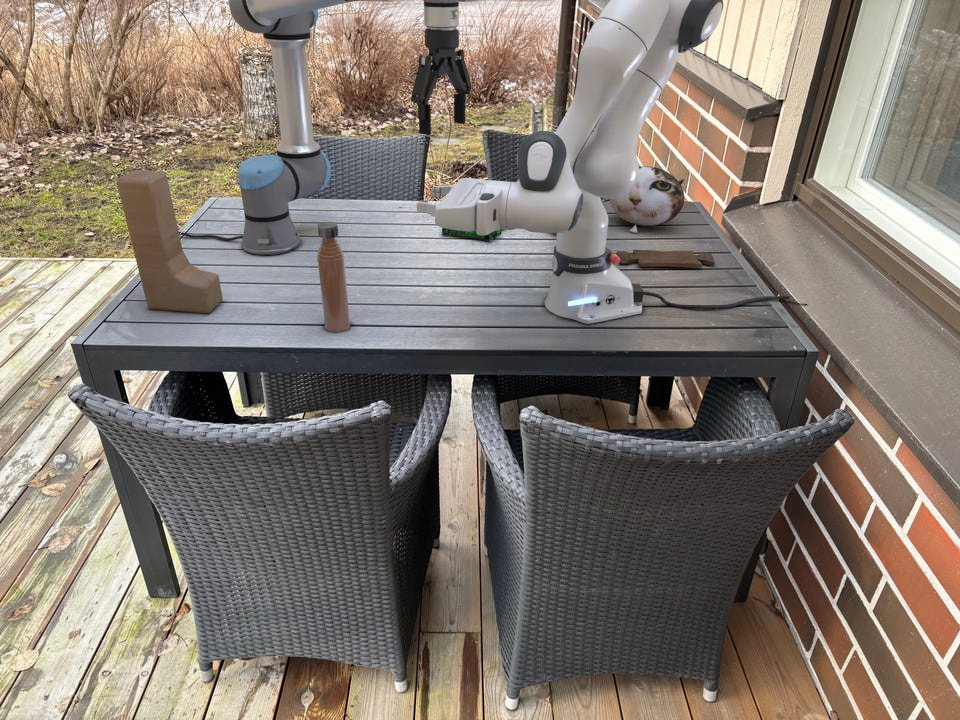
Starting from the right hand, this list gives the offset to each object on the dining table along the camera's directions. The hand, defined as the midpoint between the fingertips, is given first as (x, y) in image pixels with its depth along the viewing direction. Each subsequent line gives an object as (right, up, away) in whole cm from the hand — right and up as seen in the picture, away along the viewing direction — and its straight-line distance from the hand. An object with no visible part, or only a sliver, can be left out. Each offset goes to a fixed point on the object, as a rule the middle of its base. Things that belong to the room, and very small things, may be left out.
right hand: (424, 198), depth 138 cm
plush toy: (+59, +9, +77) cm, 98 cm away
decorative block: (-57, -19, +27) cm, 66 cm away
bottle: (-21, -24, +20) cm, 37 cm away
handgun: (+10, +6, +70) cm, 71 cm away
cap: (-20, -4, +8) cm, 22 cm away
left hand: (+2, +22, +28) cm, 36 cm away
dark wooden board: (+60, -5, +53) cm, 81 cm away
